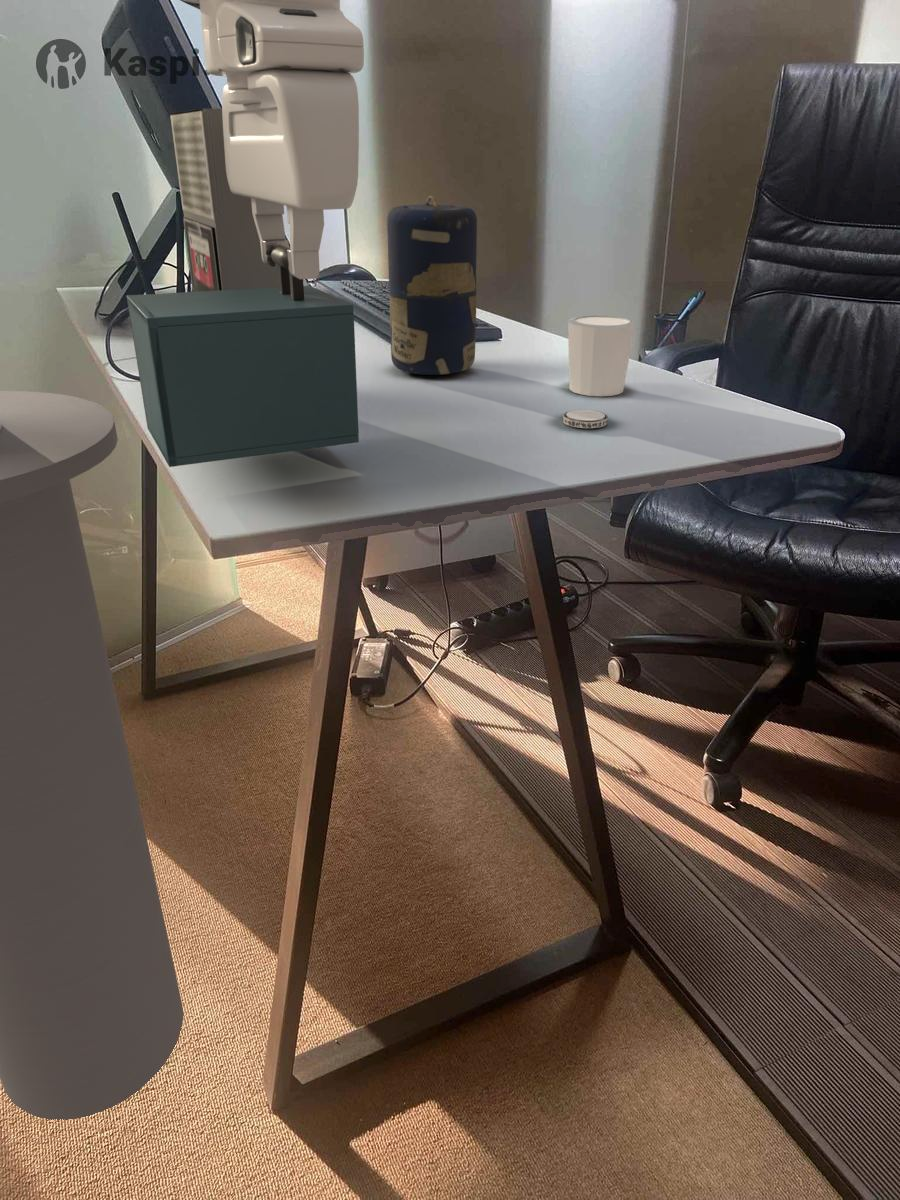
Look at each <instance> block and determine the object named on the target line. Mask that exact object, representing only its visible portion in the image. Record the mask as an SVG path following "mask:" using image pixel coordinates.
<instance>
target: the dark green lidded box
mask: <svg viewBox="0 0 900 1200" xmlns="http://www.w3.org/2000/svg"><path fill="white" fill-rule="evenodd" d="M287 250H290V247H289V248H288V247H285V246H282V245H278V246H275V247H274V248H273V249H272V251H271V258H272V260H273V262H274V263H275V264H277V265H278V277H279V287H274V288H256V289H237V290H219V291H200V292H192V291H185V292H184V291H183V292H165V293H147V294H145V293H144V294H129V295H126V303H127V308H128V314H129V320H130V327H131V332H132V339H133V346H134V353H135V358H136V364H137V371H138V376H139V377H138V378H139V383H140V389H141V395H142V401H143V408H144V415H145V420H146V428H147V430H148V432H149V433H150V436H151V437H152V439H153V441H154V442H155V444H156V446H157V448H158V449H159V452H160V453H161V455H162V456H163V458H164V460H165V462H166V463H167V466H168V467H169V468H174V467H179V466H180V467H182V466H188V465H195V464H202V463H211V462H212V463H213V462H219V461H226V460H233V459H234V460H235V459H243V458H249V457H250V458H251V457H257V456H264V455H271V454H279V453H288V452H295V451H304V450H310V449H319V448H326V447H334V446H340V445H348V444H349V445H350V444H356V443H357V444H358V443H359V442H360V435H359V433H360V432H359V430H360V429H359V408H358V383H357V359H356V358H357V357H356V332H355V313H354V312H355V311H354V304H352V303H350V302H348V301H346V300H343V299H341V298H339V297H337V296H335V295H332V294H330V293H328V292H326V291H323V290H321V289H319V288H316V287H314V286H312V285H304V279H298V278H296V277H294V276H292V275H291V274H290V272H289V262H288V253H287Z"/></svg>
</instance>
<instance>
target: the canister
mask: <svg viewBox="0 0 900 1200" xmlns="http://www.w3.org/2000/svg"><path fill="white" fill-rule="evenodd" d="M430 201H432V203H433V204H430ZM386 230H387V231H386V232H387V256H388V257H387V261H388V262H387V266H388V294H389V296H388V297H389V327H390V356H391V362H392V365H393V366H394V367H395V368H397V369H398V370H400V371H402V372H405V373H409V374H413V375H424V376H425V375H427V376H436V375H437V376H439V375H440V376H441V375H451V374H456V373H460V372H463V371H466V370H468V369H469V368H471V367H472V366H473V364H474V362H475V358H476V334H477V333H476V331H477V254H478V253H477V252H478V251H477V247H478V245H477V244H478V239H477V237H478V217H477V214H476V212H475V210H474V209H472V208H471V207H469V206H464V205H454V204H438V203H437V201H436V199H435V197H434V196H433V195H429V196H428V197H426V200H425V202H424V204H407V205H406V204H405V205H399V206H393V207H392V208H390V210H389V211H388V214H387V218H386Z"/></svg>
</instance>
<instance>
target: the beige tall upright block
mask: <svg viewBox="0 0 900 1200" xmlns="http://www.w3.org/2000/svg"><path fill="white" fill-rule="evenodd" d="M170 124H171V131H172V138H173V145H174V154H175V161H176V163H175V164H176V169H177V178H178V184H179V193H180V200H181V208H182V213H183V217H182V222H183V229H184V238H185V245H186V252H187V253H186V254H187V261H188V268H189V276H190V283H191V284H190V285H191V290H192V291H191V292H200V291H219V290H237V289H256V288H274V287H279V277H278V266H276V267H272V266H270V265H267V264H265V263H264V262H263V261H262V255H261V245H260V239H259V235H258V232H257V228H256V225H255V221H254V218H253V214H252V204H251V198H249V197H245V196H240V195H236V194H233V193H232V192H231V190H230V187H229V184H228V180H227V174H226V164H225V150H224V135H223V118H222V108H206V107H205V108H204V107H203V108H196V109H190V110H184V111H177V112H171V113H170Z"/></svg>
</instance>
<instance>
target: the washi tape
mask: <svg viewBox="0 0 900 1200" xmlns="http://www.w3.org/2000/svg"><path fill="white" fill-rule="evenodd" d="M562 418H563V419H562V422H563V424H565V425H567V426H569V427H572V428H579V429H597V428H603V427H605V426H607V424H608V415H607V414H606V413H604V412H602V411H598V410H590V409H574V410H568V411H566V412H564V413H563V417H562Z"/></svg>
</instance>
